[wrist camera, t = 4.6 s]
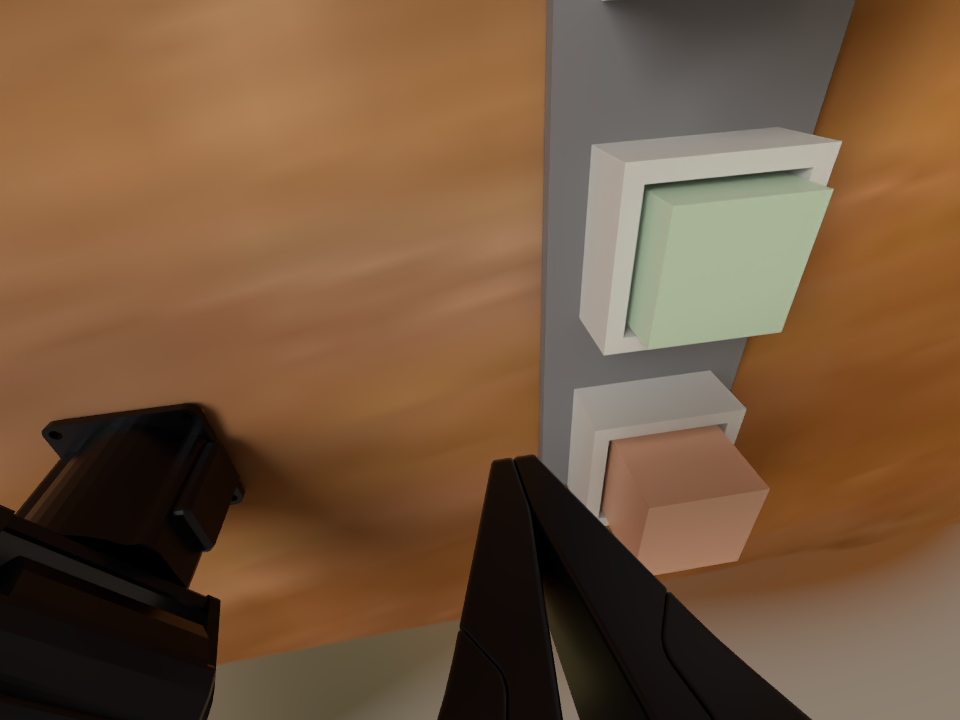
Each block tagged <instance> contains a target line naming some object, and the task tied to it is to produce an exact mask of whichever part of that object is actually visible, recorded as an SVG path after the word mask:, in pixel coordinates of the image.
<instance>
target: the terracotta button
mask: <svg viewBox="0 0 960 720" xmlns="http://www.w3.org/2000/svg"><path fill="white" fill-rule="evenodd" d="M769 490H770V488H769V487H768V486H767V485H766V483H765V482H764V481H763V480H762V478H761V477H760V476H759V475H758V474H757V472H756V471H755V470H754V469H753V468H752V466H751V465H750V464H749V463H748V462H747V460H746V459H745V458H744V457H743V455H742V454H741V453H740V452H739V451H738V449H737V448H736V447H735V446H734V445H733V443H732V442H731V441H730V440H729V439H728V437H727V436H726V435H725V434H724V433H723V431H722V430H721V429H720V428H719V426H718V425H711V426H704V427H697V428H690V429H684V430H677V431H670V432H663V433H657V434H650V435H643V436H636V437H630V438H623V439H616V440H610V446H609V453H608V460H607V467H606V474H605V482H604V489H603V496H602V503H601V507H602V510H603V512H604V514H605V517H606V519H607V521H608V523H609V526H610V528H611V530H612V533H613V535H614V536H615V537H616V538H617V539H618V540H619V541H620V542H621V543H622V544H623V545H624V546H625V547H626V548H627V549H628V550H629V551H630V552H631V553H632V554H633V555H634V556H635V557H636V558H637V559H638V560H639V561H640V562H641V563H642V564H643V565H644V566H645V567H646V568H647V569H648V570H649V571H650V572H651V573H652V574H653V575H659V574H665V573H670V572H676V571H682V570H688V569H693V568H699V567H705V566H711V565H716V564H722V563H728V562H734V561H738V559H739V556H740V554H741V552H742V550H743V548H744V545H745V543H746V541H747V539H748V537H749V534H750V532H751V530H752V528H753V526H754V523H755V521H756V519H757V517H758V515H759V512H760V510H761V508H762V506H763V504H764V501H765V499H766V497H767V495H768V493H769Z"/></svg>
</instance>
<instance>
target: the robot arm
mask: <svg viewBox="0 0 960 720" xmlns="http://www.w3.org/2000/svg"><path fill="white" fill-rule="evenodd" d="M186 414H190V415H191V416H188V415H186ZM42 435H43V437H44V438H45V440H46V441H47V442H48V443H49V444H50V446H51V447H52V448H53V449H54V450H55V452H56V453H57V454H58V455H59V456H60V458H61V459H60V460H59V461H58V462H57V464H56V465H55V466H54V467H53V469H52V470H51V471H50V472H49V473H48V475H47V476H46V477H45V478H44V480H43V481H42V482H41V483H40V484H39V486H38V487H37V488H36V489H35V491H34V492H33V493H32V494H31V495H30V497H29V498H28V499H27V500H26V502H25V503H24V504H23V505H22V506H21V508H20V509H19V510H18V511H17V513H16V514H14V513H15V511H14V510H11V509H9V508H7V507H4V506H2V505H0V720H207V718H208V715H209V711H210V708H211V705H212V701H213V695H214V688H215V677H216V676H215V674H216V659H217V645H218V631H219V616H220V600H219V599H217V598H215V597H212V596H210V595H207V596H204V595H201V594H199V593H197V592H194V591H192V590H190V589H188V588H189V586H190V583H191V581H192V578H193V576H194V573H195V570H196V568H197V565H198V563H199V560H200V558H201V555H202V552H208V551H211V549H212V548H213V547H214V545H215V543H216V540H217V538H218V535H219V532H220V530H221V527H222V524H223V522H224V519H225V516H226V513H227V511H228V508H229V505H233V504H238V503H240V502H241V501H242V499H243V497H244V494H245V491H244V489H243V487H242V485H241V483H240V481H239V475H238V473H237V472H236V470H235V468H234V466H233V464H232V462H231V460H230V458H229V457H228V455H227V453H226V451H225V449H224V447H223V445H222V444H221V443H220V442H219V441H218V440H217V438H216V436H215V435H214V433H213V431H212V429H211V427H210V425H209V423H208V421H207V420H206V418H205V416H204V414H203V412H202V410H201V409H200V408H199V407H198V406H196V405H193V404H178V405H171V406H163V407H156V408H148V409H140V410H133V411H125V412H118V413H110V414H102V415H95V416H87V417H80V418H72V419H64V420H57V421H52V422H50V423H49V424H48V425H47V426H46V427H45V428H44V429H43V430H42ZM549 629H550V631H549ZM550 632H551V635H552V638H553V641H554V644H555V647H556V650H557V653H558V656H559V659H560V662H561V665H562V668H563V671H564V674H565V677H566V680H567V683H568V686H569V689H570V691H571V695H572V698H573V700H574V704H575V707H576V710H577V713H578V716H579V719H580V720H812V719H810V718H809V717H808V716H807V715H806V714H805V713H803V712H802V711H801V710H800V709H799V708H797V707H796V706H795V705H794V704H793V703H792V702H790V701H789V700H788V699H787V698H786V697H784V696H783V695H782V694H781V693H780V692H779V691H778V690H776V689H775V688H774V687H773V686H772V685H770V684H769V683H768V682H767V681H766V680H765V679H763V678H762V677H761V676H760V675H759V674H758V673H756V672H755V671H754V670H753V669H752V668H750V667H749V666H748V665H747V664H746V663H745V662H744V661H743V660H741V659H740V658H739V657H738V656H737V655H735V653H733V652H732V651H731V650H730V649H729V648H728V647H727V646H726V645H724V644H723V643H722V642H721V641H720V640H719V639H718V638H716V637H715V636H714V635H713V634H712V633H711V632H710V631H709V630H708V629H707V628H706V627H705V626H704V625H703V624H702V623H701V622H700V621H699V620H698V619H697V618H696V617H695V616H694V615H693V614H692V613H691V612H690V611H689V610H687V608H686V607H685V606H684V605H683V604H682V603H681V602H680V601H679V600H678V599H677V598H676V597H675V596H674V595H673V594H672V593H671V592H667V589H666V587H665V586H664V585H663V584H662V583H661V582H660V581H659V580H658V579H657V578H656V577H655V576H654V575H653V574H652V573H651V572H650V571H649V570H648V569H647V568H646V567H645V566H644V565H643V564H642V563H641V562H640V561H639V560H638V559H637V558H636V557H635V556H634V555H633V554H632V553H631V552H630V551H629V550H628V549H627V548H626V547H625V546H624V545H623V544H622V543H621V542H620V541H619V540H618V539H617V538H616V537H615V536H614V535H613V534H612V533H611V532H610V530H609V529H608V528H607V527H606V526H605V525H604V524H603V523H602V522H601V521H600V520H599V519H598V518H597V517H596V516H595V515H594V514H593V513H592V512H591V511H590V510H589V509H588V508H587V507H586V506H585V505H584V504H583V503H582V502H581V501H580V500H579V499H578V498H577V497H576V496H575V495H574V494H573V493H572V492H571V491H570V490H569V489H568V488H567V487H566V486H565V485H564V484H563V483H562V482H561V481H560V480H559V479H558V478H557V477H556V476H555V475H554V474H553V473H552V472H551V471H550V470H549V469H548V468H547V467H546V466H545V465H544V464H543V463H542V462H541V461H540V460H539V459H538V458H537V457H536V456H535V455H525V456H519V457H515V458H514V460H513V459H512V458H505V459H498V460H494V461H493V462H492V464H491V468H490V474H489V479H488V484H487V489H486V494H485V499H484V504H483V509H482V514H481V519H480V525H479V530H478V535H477V540H476V545H475V550H474V555H473V560H472V565H471V570H470V576H469V581H468V586H467V591H466V596H465V601H464V606H463V611H462V616H461V621H460V631H459V632H458V635H457V640H456V646H455V651H454V656H453V660H452V665H451V669H450V673H449V678H448V682H447V686H446V691H445V695H444V698H443V701H442V706H441V708H440V712H439V715H438V719H437V720H563V717H562V710H561V704H560V697H559V691H558V684H557V677H556V671H555V664H554V658H553V652H552V645H551V638H550Z"/></svg>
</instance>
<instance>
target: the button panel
mask: <svg viewBox="0 0 960 720" xmlns="http://www.w3.org/2000/svg"><path fill="white" fill-rule="evenodd" d="M855 1H856V0H547V18H546V74H545V131H544V187H543V244H542V300H541V357H540V413H539V460H540V461H541V462H542V463H543V464H544V465H545V466H546V467H547V468H548V469H549V470H550V471H551V472H552V473H553V474H554V475H555V476H556V477H557V478H558V479H559V480H560V481H561V482H562V483H563V484H564V485H566V484H567V485H568V488H569V490H570V491H571V492H572V493H573V494H574V495H575V496H576V497H577V498H578V499H579V500H580V501H581V502H582V503H583V504H584V505H585V506H586V507H587V508H588V509H589V510H590V511H591V512H592V513H593V514H594V515H595V516H596V517H597V518H598V519H599V520H600V521H601V522H602V523H603V524H604V525H605V526H607V525H609V523H608V521H607V519H606V517H605V514H604V512H603V510H602V507H601V503H602V496H603V489H604V482H605V474H606V467H607V460H608V453H609V446H610V440H616V439H623V438H630V437H636V436H643V435H650V434H657V433H663V432H670V431H677V430H684V429H690V428H697V427H704V426H711V425H718V426H719V428H720V429H721V430H722V431H723V433H724V434H725V435H726V436H727V437H728V439H729V440H730V441H731V442H732V443H733V445H734V444H735V441H736V438H737V435H738V432H739V430H740V427H741V424H742V421H743V418H744V416H745V413H746V410H747V409H746V408H745V407H744V406H743V405H742V404H741V402H740V401H739V400H738V399H737V398H736V397H735V396H734V395H733V394H732V393H731V392H730V391H731V388H732V385H733V382H734V379H735V376H736V372H737V369H738V366H739V363H740V360H741V357H742V354H743V351H744V347H745V344H746V341H747V338H748V337H741V338H734V339H726V340H719V341H711V342H704V343H696V344H689V345H681V346H674V347H666V348H659V349H651V350H648V349H647V348H646V347H645V346H644V344H643V343H642V342H641V341H640V339H639V338H638V337H637V336H636V335H635V333H634V332H633V331H632V330H631V328H630V327H629V326H628V325H627V323H626V315H627V308H628V301H629V294H630V286H631V279H632V272H633V265H634V258H635V250H636V243H637V236H638V229H639V222H640V214H641V207H642V200H643V193H644V185H646V184H656V183H665V182H675V181H685V180H694V179H704V178H714V177H724V176H733V175H743V174H753V173H763V172H772V171H782V172H785V173H788V174H791V175H794V176H797V177H800V178H803V179H806V180H809V181H812V182H815V183H818V184H821V185H824V186H827V183H828V180H829V177H830V174H831V171H832V169H833V166H834V163H835V160H836V157H837V155H838V152H839V149H840V146H841V143H842V141H838V140H834V139H830V138H825V137H821V136H816V135H813V132H814V129H815V126H816V123H817V120H818V117H819V113H820V110H821V107H822V104H823V101H824V98H825V95H826V92H827V88H828V85H829V82H830V79H831V76H832V73H833V70H834V67H835V64H836V60H837V57H838V54H839V51H840V48H841V45H842V42H843V39H844V35H845V32H846V29H847V26H848V23H849V20H850V17H851V14H852V10H853V7H854V4H855Z"/></svg>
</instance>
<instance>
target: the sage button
mask: <svg viewBox="0 0 960 720" xmlns="http://www.w3.org/2000/svg"><path fill="white" fill-rule="evenodd" d="M833 190H834V189H832V188H829V187H826V186H824V185H821V184H818V183H815V182H812V181H809V180H806V179H803V178H800V177H797V176H794V175H791V174H788V173H785V172H782V171H772V172H763V173H753V174H743V175H733V176H724V177H714V178H704V179H694V180H685V181H675V182H665V183H656V184H646V185H644V193H643V200H642V207H641V214H640V222H639V229H638V236H637V243H636V250H635V258H634V265H633V272H632V279H631V286H630V294H629V301H628V308H627V315H626V323H627V325H628V326H629V327H630V328H631V330H632V331H633V332H634V333H635V335H636V336H637V337H638V338H639V339H640V341H641V342H642V343H643V344H644V346H645V347H646V348H647V349H648V350H651V349H659V348H666V347H674V346H681V345H689V344H696V343H704V342H711V341H719V340H726V339H734V338H741V337H749V336H756V335H764V334H772V333H779V332H782V329H783V326H784V323H785V321H786V318H787V315H788V313H789V310H790V307H791V304H792V302H793V299H794V296H795V293H796V291H797V288H798V285H799V283H800V280H801V277H802V274H803V272H804V269H805V266H806V263H807V261H808V258H809V255H810V253H811V250H812V247H813V244H814V242H815V239H816V236H817V234H818V231H819V228H820V225H821V223H822V220H823V217H824V214H825V212H826V209H827V206H828V204H829V201H830V198H831V195H832V193H833Z"/></svg>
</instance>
